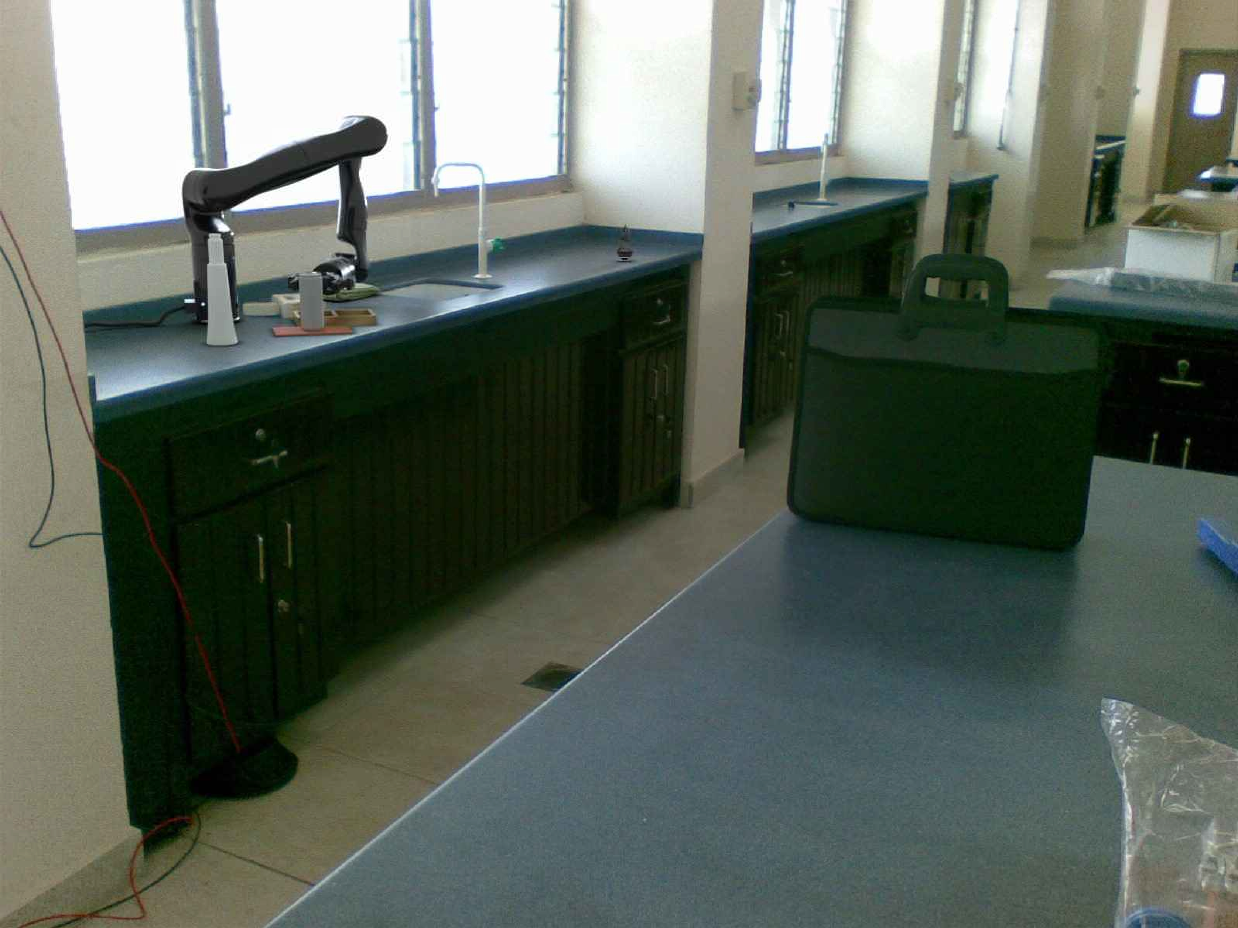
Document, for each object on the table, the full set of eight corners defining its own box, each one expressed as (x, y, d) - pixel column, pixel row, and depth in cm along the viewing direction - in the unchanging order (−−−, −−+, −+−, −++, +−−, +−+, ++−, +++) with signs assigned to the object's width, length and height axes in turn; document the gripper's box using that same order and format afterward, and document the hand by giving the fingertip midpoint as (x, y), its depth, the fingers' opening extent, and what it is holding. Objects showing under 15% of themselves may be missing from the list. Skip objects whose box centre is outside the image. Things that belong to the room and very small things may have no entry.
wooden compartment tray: (297, 327, 264) (297, 317, 263) (294, 320, 272) (293, 310, 272) (376, 325, 270) (376, 315, 269) (370, 318, 278) (370, 308, 277)
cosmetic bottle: (243, 343, 245) (236, 234, 239) (216, 347, 241) (208, 236, 234) (227, 339, 249) (220, 231, 243) (200, 342, 245) (192, 233, 238)
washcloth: (382, 294, 313) (381, 282, 312) (338, 303, 298) (338, 290, 297) (342, 290, 318) (341, 278, 318) (297, 298, 303) (296, 285, 302)
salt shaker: (636, 261, 398) (637, 224, 394) (627, 262, 393) (628, 225, 390) (621, 259, 401) (622, 223, 397) (612, 261, 396) (613, 224, 393)
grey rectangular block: (318, 332, 257) (315, 276, 254) (297, 330, 258) (294, 274, 255) (328, 328, 262) (325, 273, 258) (307, 327, 263) (304, 272, 259)
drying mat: (275, 336, 253) (275, 334, 253) (272, 329, 261) (272, 327, 261) (352, 333, 259) (352, 332, 258) (347, 326, 267) (347, 324, 267)
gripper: (300, 259, 275) (280, 268, 259) (362, 261, 275) (345, 270, 259) (301, 292, 277) (281, 302, 261) (363, 293, 277) (347, 304, 261)
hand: (313, 286), depth 260 cm, fingers open, 8 cm apart
